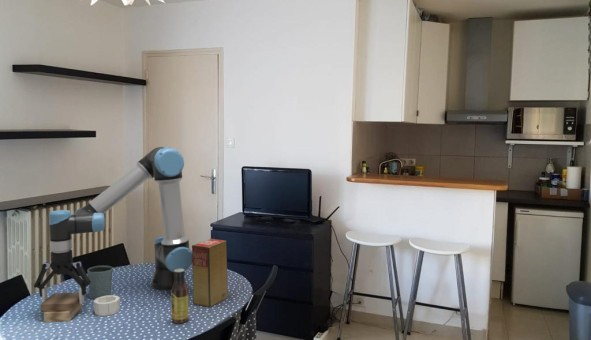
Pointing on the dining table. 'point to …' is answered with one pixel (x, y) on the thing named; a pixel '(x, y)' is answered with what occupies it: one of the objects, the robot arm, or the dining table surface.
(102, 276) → the grey-green cup
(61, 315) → the light wooden block
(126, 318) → the dining table surface
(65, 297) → the cover board
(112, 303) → the bowl
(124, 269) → the dining table surface
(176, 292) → the sauce bottle
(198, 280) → the food packaging
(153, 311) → the dining table surface
